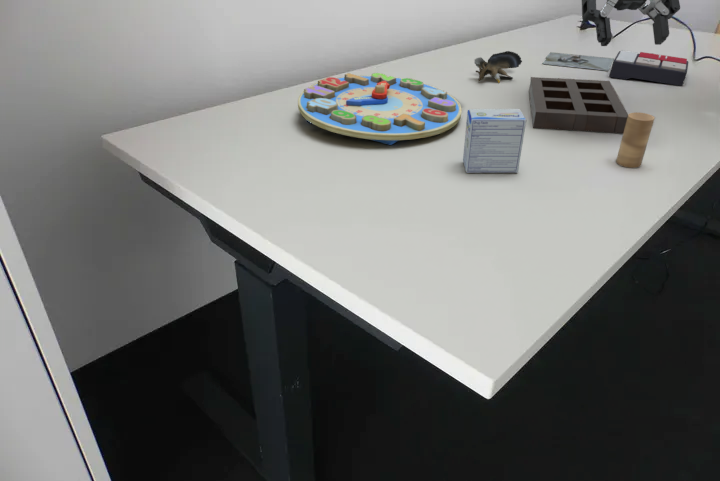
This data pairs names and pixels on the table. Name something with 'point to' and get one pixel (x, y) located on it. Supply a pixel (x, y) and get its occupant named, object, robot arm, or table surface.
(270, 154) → the table surface
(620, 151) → the peg
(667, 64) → the dual switch box
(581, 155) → the table surface
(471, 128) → the medicine box
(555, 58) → the grey fossil slab
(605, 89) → the brown grid tray
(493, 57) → the squirrel figurine
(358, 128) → the shape sorting clock
